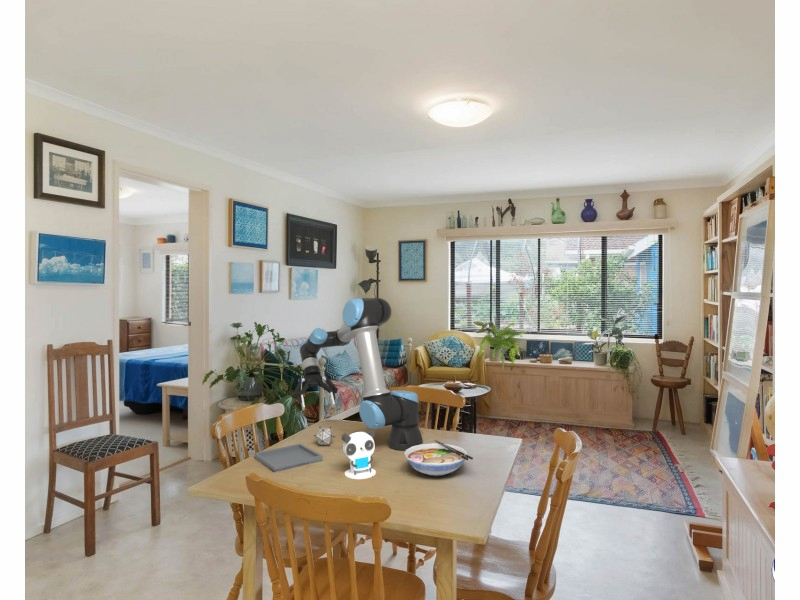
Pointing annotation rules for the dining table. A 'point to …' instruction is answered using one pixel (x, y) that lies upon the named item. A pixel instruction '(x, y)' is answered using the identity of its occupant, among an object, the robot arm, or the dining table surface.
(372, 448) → the panda figurine
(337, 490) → the dining table surface
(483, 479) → the dining table surface
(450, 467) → the ramen bowl
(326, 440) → the game die
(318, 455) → the tray
